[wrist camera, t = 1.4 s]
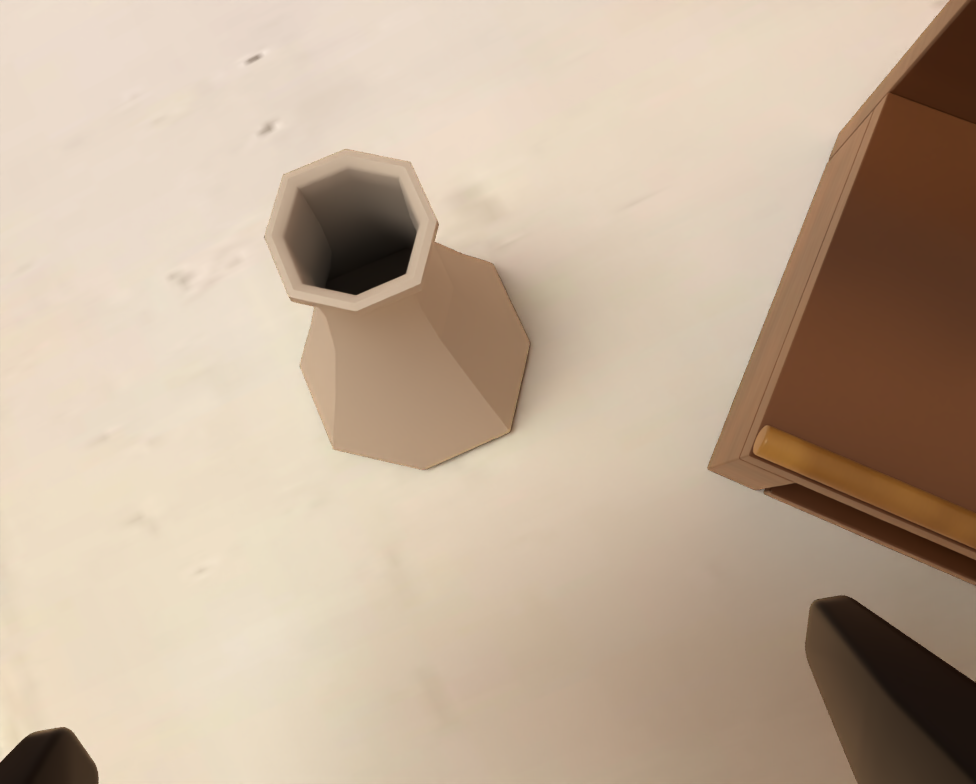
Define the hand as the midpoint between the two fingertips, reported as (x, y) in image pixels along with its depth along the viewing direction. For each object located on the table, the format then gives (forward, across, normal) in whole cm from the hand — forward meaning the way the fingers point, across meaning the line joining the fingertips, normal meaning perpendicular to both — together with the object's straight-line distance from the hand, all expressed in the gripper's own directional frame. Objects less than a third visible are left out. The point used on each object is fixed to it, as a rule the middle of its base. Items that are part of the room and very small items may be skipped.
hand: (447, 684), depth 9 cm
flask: (+15, +1, +3) cm, 15 cm away
